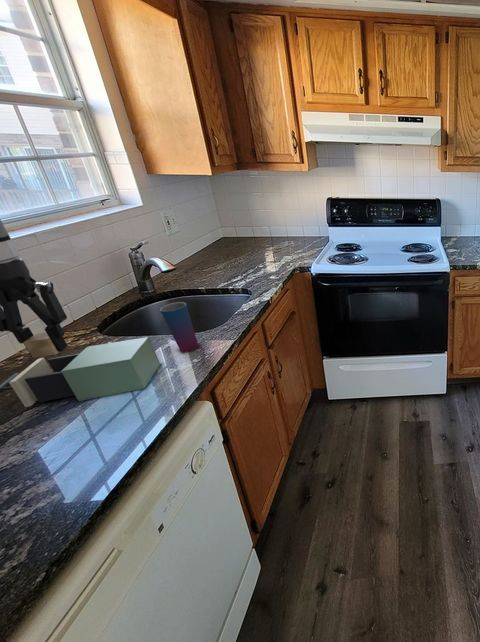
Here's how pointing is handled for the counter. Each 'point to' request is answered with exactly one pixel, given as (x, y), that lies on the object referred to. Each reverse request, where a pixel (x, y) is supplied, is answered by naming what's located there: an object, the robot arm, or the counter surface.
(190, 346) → the cup
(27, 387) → the black and cream piece
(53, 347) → the block
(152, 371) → the green box
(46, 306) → the robot arm
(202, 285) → the counter surface
